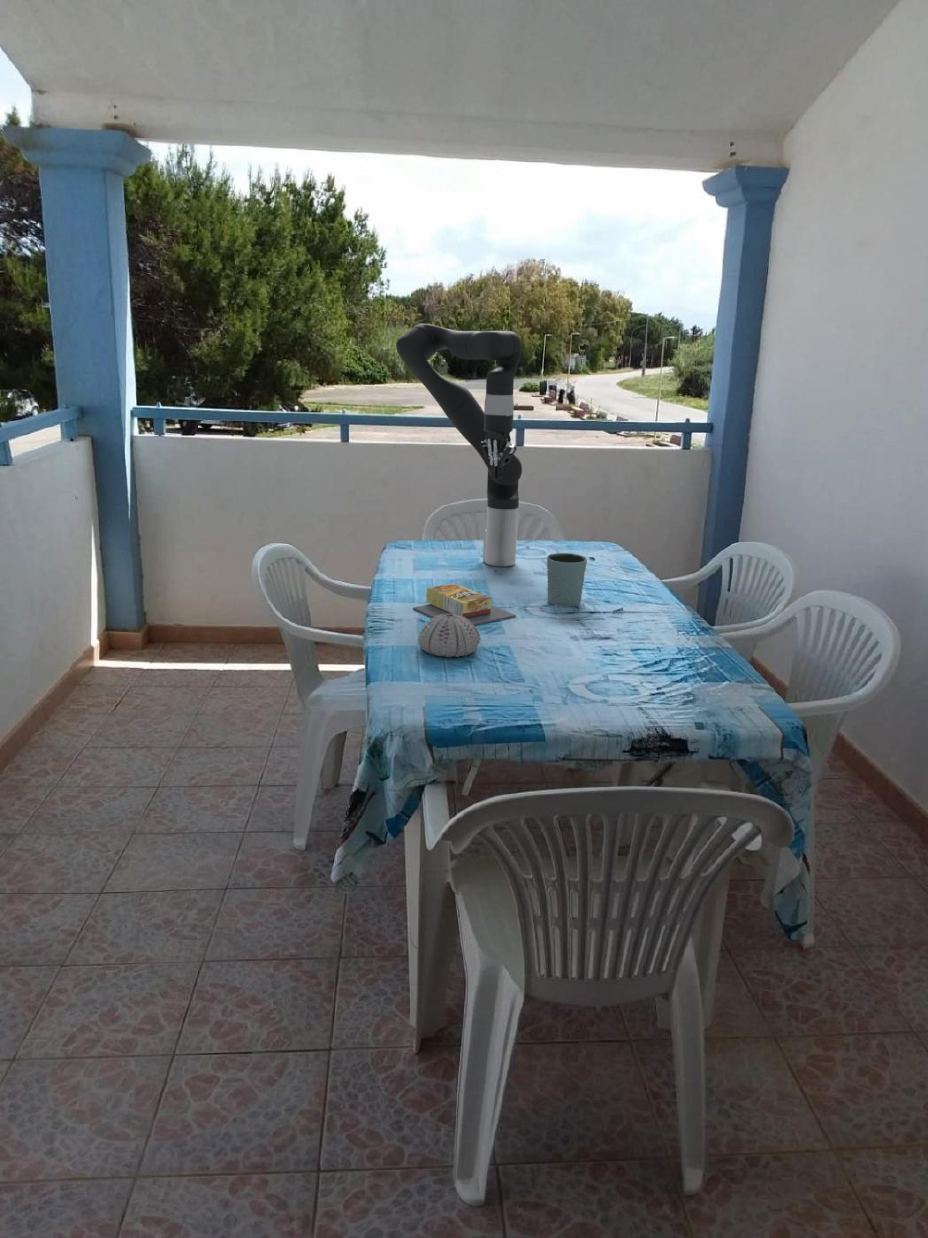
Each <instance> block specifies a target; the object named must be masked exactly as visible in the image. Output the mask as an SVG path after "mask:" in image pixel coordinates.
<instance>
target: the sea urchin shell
mask: <svg viewBox="0 0 928 1238" xmlns="http://www.w3.org/2000/svg"><path fill="white" fill-rule="evenodd" d="M479 633H480V632H479V631H478V628H477V627H476V625H475V626H474V625H473V624H472V623H471V622H470V621H469V620H468V619H466V618H464V617H462V616H460V615H457V614H451V613H450V614H441V615H437V616H435V617H434V618H431V619H429V620H428V621H427V622H426V624H424V627H423V628H421V631H420V632H419V635H418V636H417V637H418V639H417V640H418V645H419V647H420V648H421V649H422V650H423V651H425V652H426V653H428V654H430V655H435V656H438V657H446V658H453V657H455V656H456V657H455V658H459V656H468V655H471V653H474V651H475V650H476V651H477V647H479V644H480V643H481V641H480V640H481V634H479ZM452 656H453V657H452Z"/></svg>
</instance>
